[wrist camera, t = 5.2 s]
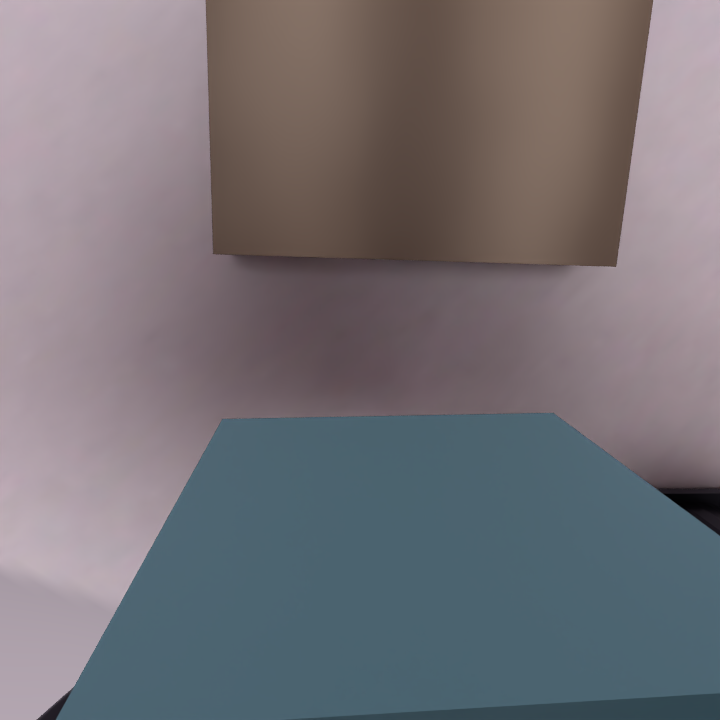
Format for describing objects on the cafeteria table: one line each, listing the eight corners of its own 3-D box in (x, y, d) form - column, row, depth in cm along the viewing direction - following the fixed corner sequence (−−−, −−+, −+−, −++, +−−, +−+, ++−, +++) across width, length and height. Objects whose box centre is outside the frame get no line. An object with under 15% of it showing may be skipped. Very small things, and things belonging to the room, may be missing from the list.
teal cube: (553, 412, 8) (916, 680, 3) (527, 685, 9) (766, 1194, 4) (222, 419, 8) (48, 734, 3) (238, 702, 9) (132, 1281, 4)
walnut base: (617, -133, 16) (683, -216, 13) (570, 262, 19) (616, 266, 16) (222, -169, 15) (197, -268, 12) (231, 252, 18) (213, 254, 15)
